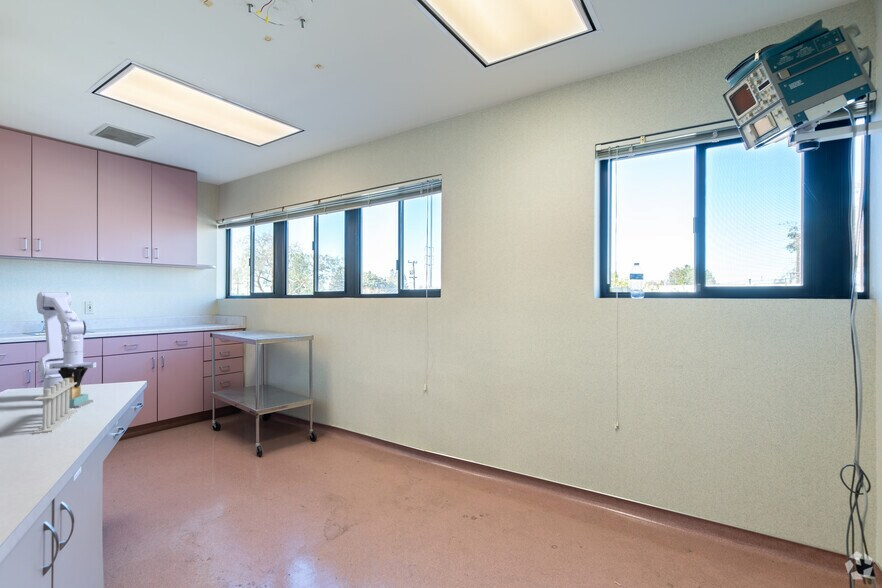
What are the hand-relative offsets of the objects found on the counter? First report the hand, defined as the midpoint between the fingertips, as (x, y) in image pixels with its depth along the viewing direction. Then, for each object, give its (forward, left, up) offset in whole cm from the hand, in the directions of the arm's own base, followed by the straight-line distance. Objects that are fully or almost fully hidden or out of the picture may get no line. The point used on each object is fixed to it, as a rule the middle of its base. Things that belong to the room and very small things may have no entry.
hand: (72, 386), depth 158 cm
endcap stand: (0, 0, -7) cm, 7 cm away
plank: (0, 0, -4) cm, 4 cm away
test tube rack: (+23, +8, -8) cm, 26 cm away
